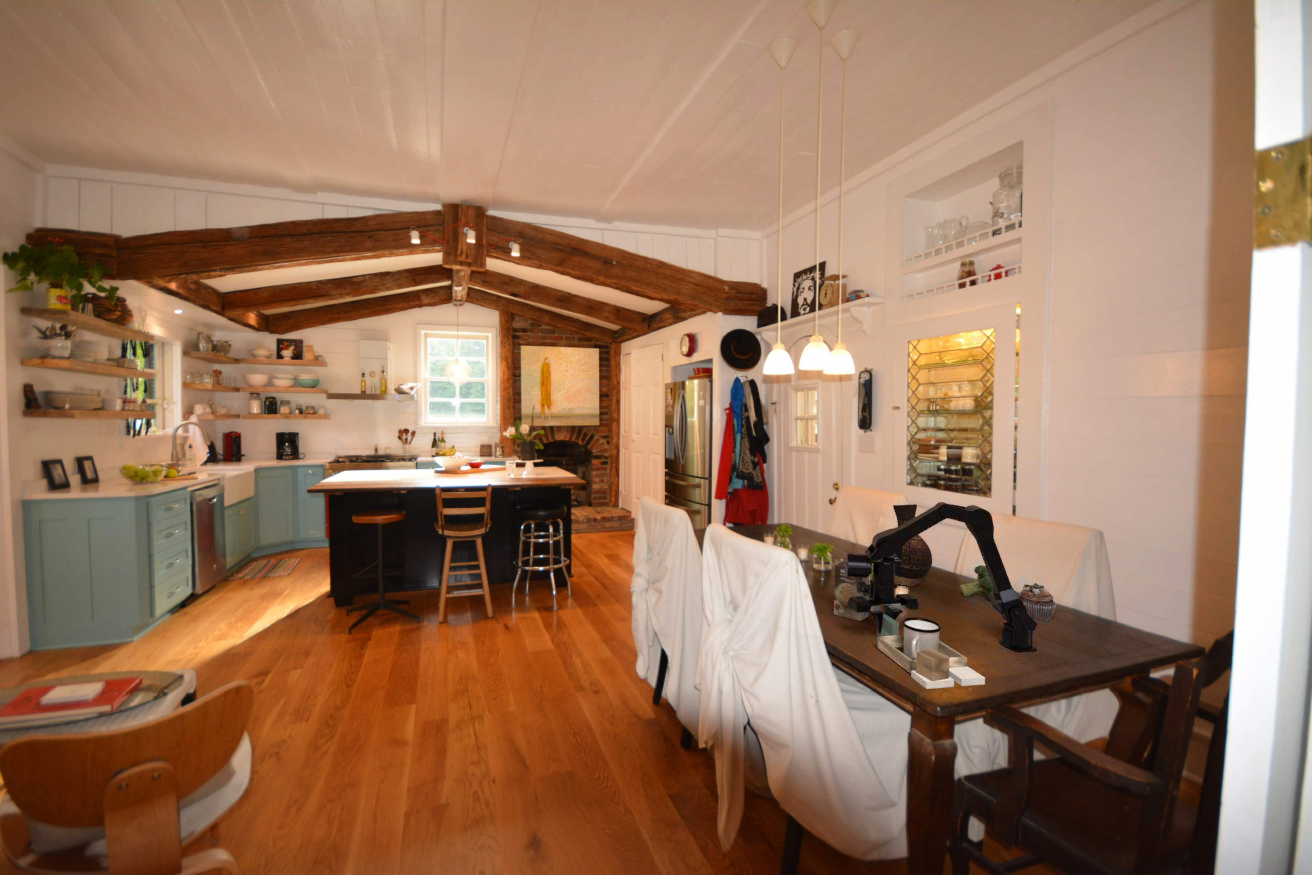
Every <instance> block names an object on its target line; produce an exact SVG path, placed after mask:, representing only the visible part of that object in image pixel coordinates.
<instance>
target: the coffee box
mask: <svg viewBox="0 0 1312 875" xmlns="http://www.w3.org/2000/svg"><path fill="white" fill-rule="evenodd" d="M845 562H846V560H841V561H840V562H838V563H836V564H834V586H833V587H834V592H833V593H834V594H833V596H834V598H833V600H834V601H833V615H837V616H840V617H842V618H848V619H849V620H850V619H851V620H854V621H858V622H861V621H863V620H865V619H866V618H867V617H869V612H862V613H859V612H856V611H854V610H853V609H852V608H850V607H849V606H848V600H849V598H850V597H856V596H862V597H863V598H865V599H867V600H870V599H869V597H868V595H867V596H863V593H858V592H857V582H863V581H864V582H865V583H866V584H870V576H868V577H867V578H860V577H846V574H845Z"/></svg>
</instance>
